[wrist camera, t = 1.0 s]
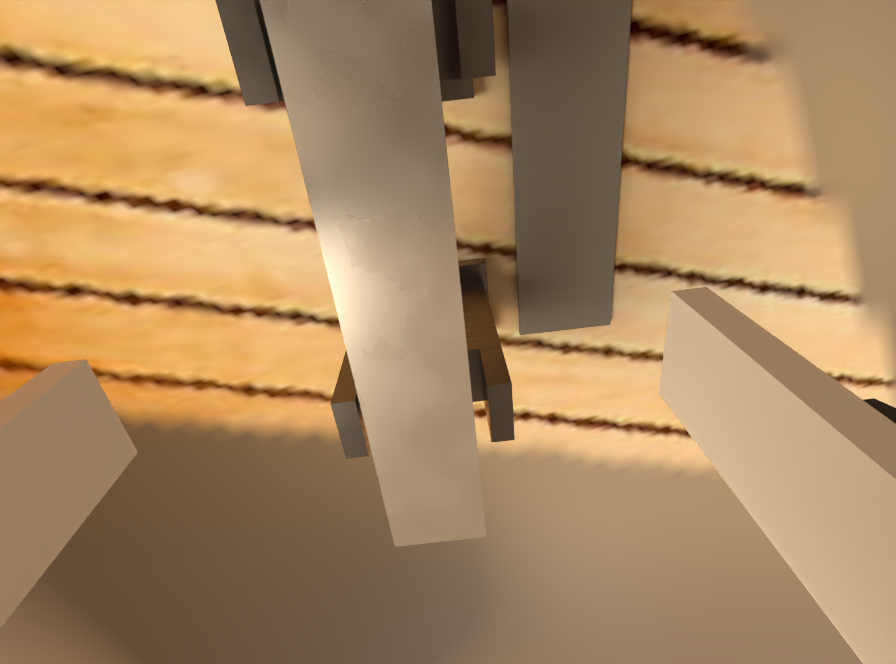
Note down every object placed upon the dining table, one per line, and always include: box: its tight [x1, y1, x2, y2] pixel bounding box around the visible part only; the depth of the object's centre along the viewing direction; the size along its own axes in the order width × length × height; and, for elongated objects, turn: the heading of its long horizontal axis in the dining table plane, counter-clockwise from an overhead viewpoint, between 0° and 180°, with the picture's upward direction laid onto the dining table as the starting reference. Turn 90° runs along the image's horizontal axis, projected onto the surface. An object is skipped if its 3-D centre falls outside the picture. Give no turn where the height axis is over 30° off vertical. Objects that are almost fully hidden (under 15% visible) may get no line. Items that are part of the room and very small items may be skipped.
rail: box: [260, 0, 486, 547], centre depth 17 cm, size 24×4×5 cm, turn 6°
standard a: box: [216, 0, 496, 106], centre depth 18 cm, size 5×8×12 cm, turn 96°
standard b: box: [331, 259, 514, 458], centre depth 25 cm, size 5×8×12 cm, turn 96°
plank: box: [507, 0, 632, 335], centre depth 27 cm, size 20×6×1 cm, turn 6°
